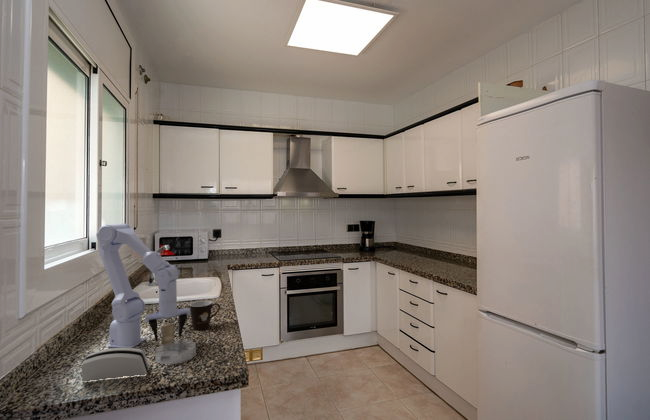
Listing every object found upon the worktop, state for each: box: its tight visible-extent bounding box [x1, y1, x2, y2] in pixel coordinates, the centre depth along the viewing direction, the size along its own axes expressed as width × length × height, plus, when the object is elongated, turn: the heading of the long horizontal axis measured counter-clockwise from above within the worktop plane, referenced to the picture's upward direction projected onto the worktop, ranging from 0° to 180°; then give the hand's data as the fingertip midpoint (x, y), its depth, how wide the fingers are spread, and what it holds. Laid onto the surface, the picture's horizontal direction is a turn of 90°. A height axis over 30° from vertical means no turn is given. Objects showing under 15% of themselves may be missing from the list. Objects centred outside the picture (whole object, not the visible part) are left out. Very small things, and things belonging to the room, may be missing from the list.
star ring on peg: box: [155, 339, 197, 365], centre depth 108 cm, size 12×12×3 cm
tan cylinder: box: [161, 323, 175, 345], centre depth 117 cm, size 4×4×7 cm
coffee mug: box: [189, 300, 221, 332], centre depth 135 cm, size 12×9×10 cm
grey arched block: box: [81, 347, 151, 382], centre depth 95 cm, size 17×5×10 cm, turn 103°
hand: (168, 337), depth 117 cm, fingers open, 7 cm apart
